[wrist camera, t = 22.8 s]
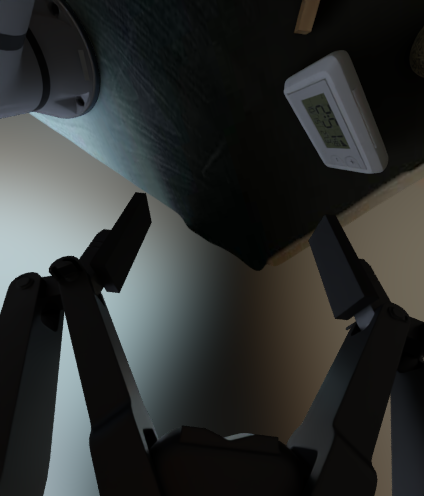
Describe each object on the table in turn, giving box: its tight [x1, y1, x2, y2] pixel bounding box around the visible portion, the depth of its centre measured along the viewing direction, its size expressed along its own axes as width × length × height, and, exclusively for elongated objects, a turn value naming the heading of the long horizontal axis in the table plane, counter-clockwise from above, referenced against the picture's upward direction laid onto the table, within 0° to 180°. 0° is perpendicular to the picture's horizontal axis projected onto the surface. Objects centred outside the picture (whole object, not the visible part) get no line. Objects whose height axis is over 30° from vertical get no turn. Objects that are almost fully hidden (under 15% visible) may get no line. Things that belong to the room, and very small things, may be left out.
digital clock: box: [284, 50, 388, 173], centre depth 27 cm, size 16×9×11 cm, turn 32°
